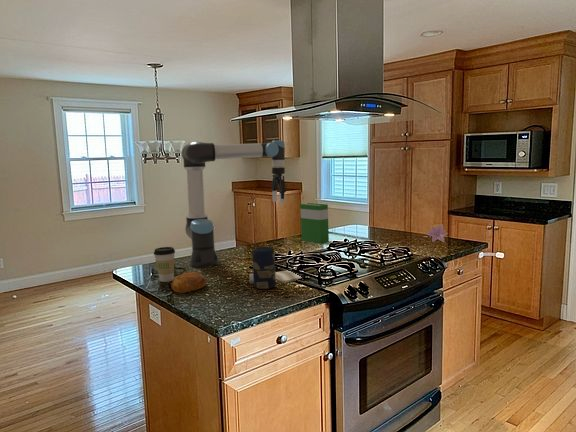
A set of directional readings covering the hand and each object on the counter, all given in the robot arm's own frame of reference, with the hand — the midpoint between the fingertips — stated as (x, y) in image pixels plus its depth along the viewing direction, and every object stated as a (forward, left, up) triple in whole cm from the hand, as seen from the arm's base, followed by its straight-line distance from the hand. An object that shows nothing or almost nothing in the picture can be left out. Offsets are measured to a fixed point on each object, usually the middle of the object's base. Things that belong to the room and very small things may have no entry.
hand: (278, 202), depth 268 cm
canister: (-42, -67, -28) cm, 84 cm away
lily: (+86, -42, -28) cm, 100 cm away
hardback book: (+29, +6, -28) cm, 40 cm away
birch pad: (-26, -59, -28) cm, 70 cm away
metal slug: (-44, -58, -28) cm, 78 cm away
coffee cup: (-75, -29, -28) cm, 85 cm away
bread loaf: (-71, -48, -28) cm, 90 cm away
